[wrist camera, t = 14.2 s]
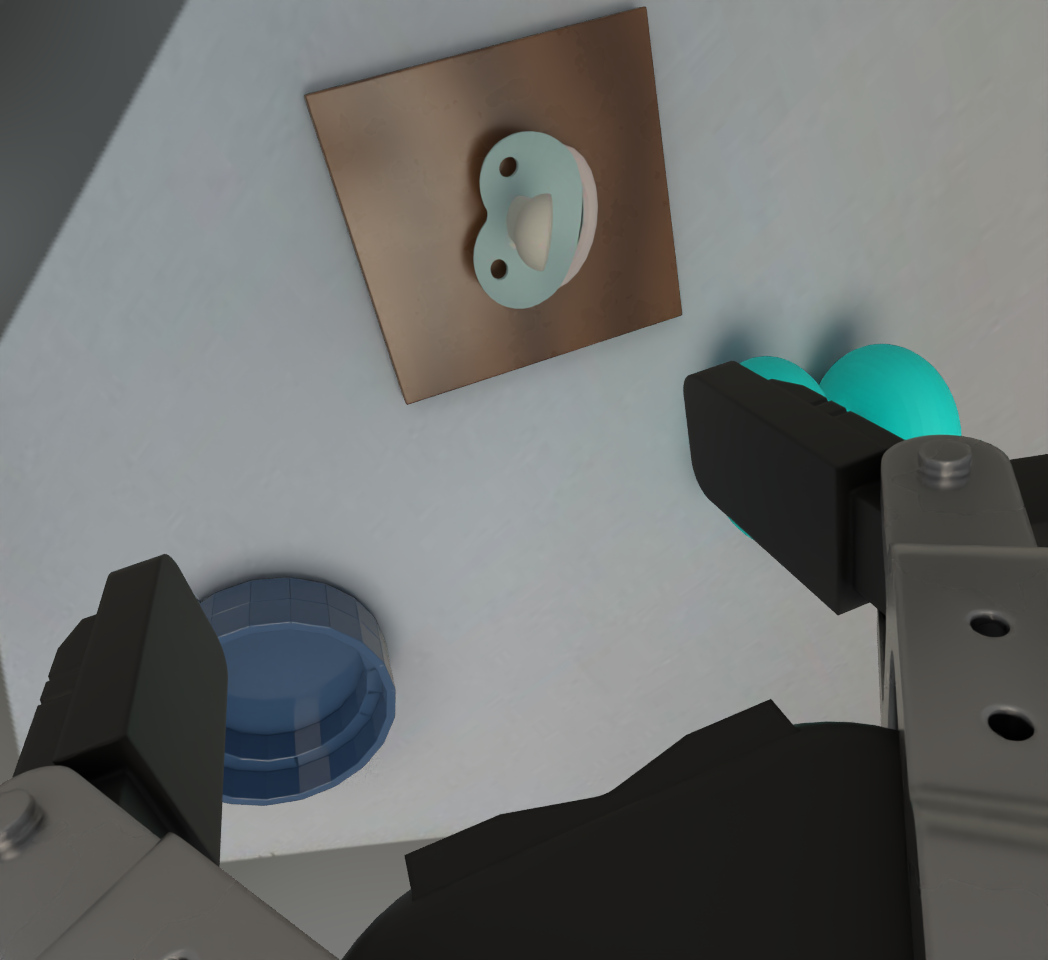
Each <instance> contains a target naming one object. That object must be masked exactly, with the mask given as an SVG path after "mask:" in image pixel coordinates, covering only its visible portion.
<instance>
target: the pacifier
mask: <svg viewBox="0 0 1048 960" xmlns="http://www.w3.org/2000/svg"><path fill="white" fill-rule="evenodd" d="M507 157H513V158H514V159H515V161H516V164H517V165H516V170H515V172H514V173H513V174H512V175H511V176H508V177H503V176H502V175H501V174H500V171H499V166H500V163H501V162H502V160H504V159H505V158H507ZM479 183H480V193H481V197H482V200H483V203H484V206H485V208H486V209H487V220H486V222H485V223H484V225H483V226H482V228H481V229H480V231H479V234H478V236H477V238H476V242H475V246H474V254H473V262H474V268H475V273H476V276H477V279H478V281H479V283H480V284H481V286H482V288H483V290H484V291H485V292H486V293H487V294H488V295H489V296H490V297H491V298H492V299H493V300H495V301H496V302H497V303H499V304H501V305H503V306H506V307H510V308H514V309H524V308H529V307H533V306H535V305H538V304H540V303H541V302H543V301H544V300H546V299H548V298H549V297H550V296H551V295H553V294H554V293H555V292H556V290H557V289H558V288H560V287H561V286H563V285H565V284H567V283H568V282H569V281H570V280H571V279H572V278H573V277H574V276H575V275H576V274H577V273H578V271H579V270H580V268H581V266H582V265H583V263H584V262H585V260H586V258H587V256H588V253H589V251H590V248H591V245H592V243H593V239H594V234H595V230H596V225H597V213H598V201H597V191H596V185H595V181H594V178H593V175H592V171H591V169H590V167H589V165H588V164H587V162H586V160H585V159H584V157H583V156H582V155H581V154H580V153H579V152H578V151H576V150H575V149H574V148H572V147H570V146H567V145H564V144H562V143H561V142H560V141H558V140H557V139H555V138H553V137H552V136H550V135H547V134H544V133H540V132H533V131H524V132H518V133H514V134H511V135H509V136H507V137H505V138H503V139H502V140H500V141H499V142H498V143H497V144H495V145H494V146H493V147H492V149H491V150H490V151H489V153H488V154H487V156H486V158H485V160H484V162H483V164H482V167H481V172H480V179H479ZM497 259H501V260H503V261H504V262H505V264H506V268H507V270H506V274H505V275H504V277H502V278H500V279H496V278H494V277H493V276H492V274H491V270H490V269H491V265H492V263H493V262H494V261H495V260H497Z"/></svg>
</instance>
